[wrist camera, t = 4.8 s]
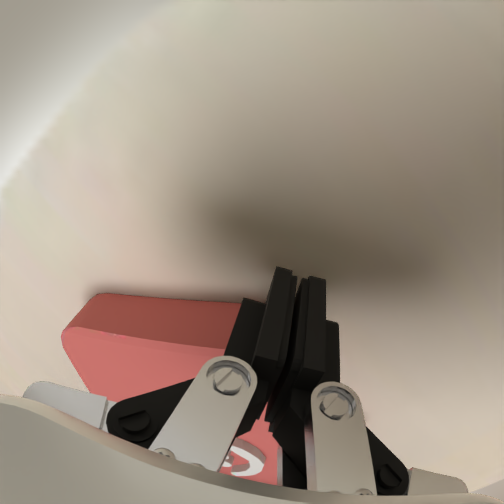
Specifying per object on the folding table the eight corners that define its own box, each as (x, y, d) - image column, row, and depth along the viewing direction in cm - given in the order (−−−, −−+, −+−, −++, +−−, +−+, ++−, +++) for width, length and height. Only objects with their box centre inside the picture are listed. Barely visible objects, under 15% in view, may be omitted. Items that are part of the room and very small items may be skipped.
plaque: (334, 510, 18) (151, 482, 21) (337, 470, 21) (165, 448, 24) (396, 369, 9) (41, 328, 12) (383, 300, 13) (82, 284, 16)
